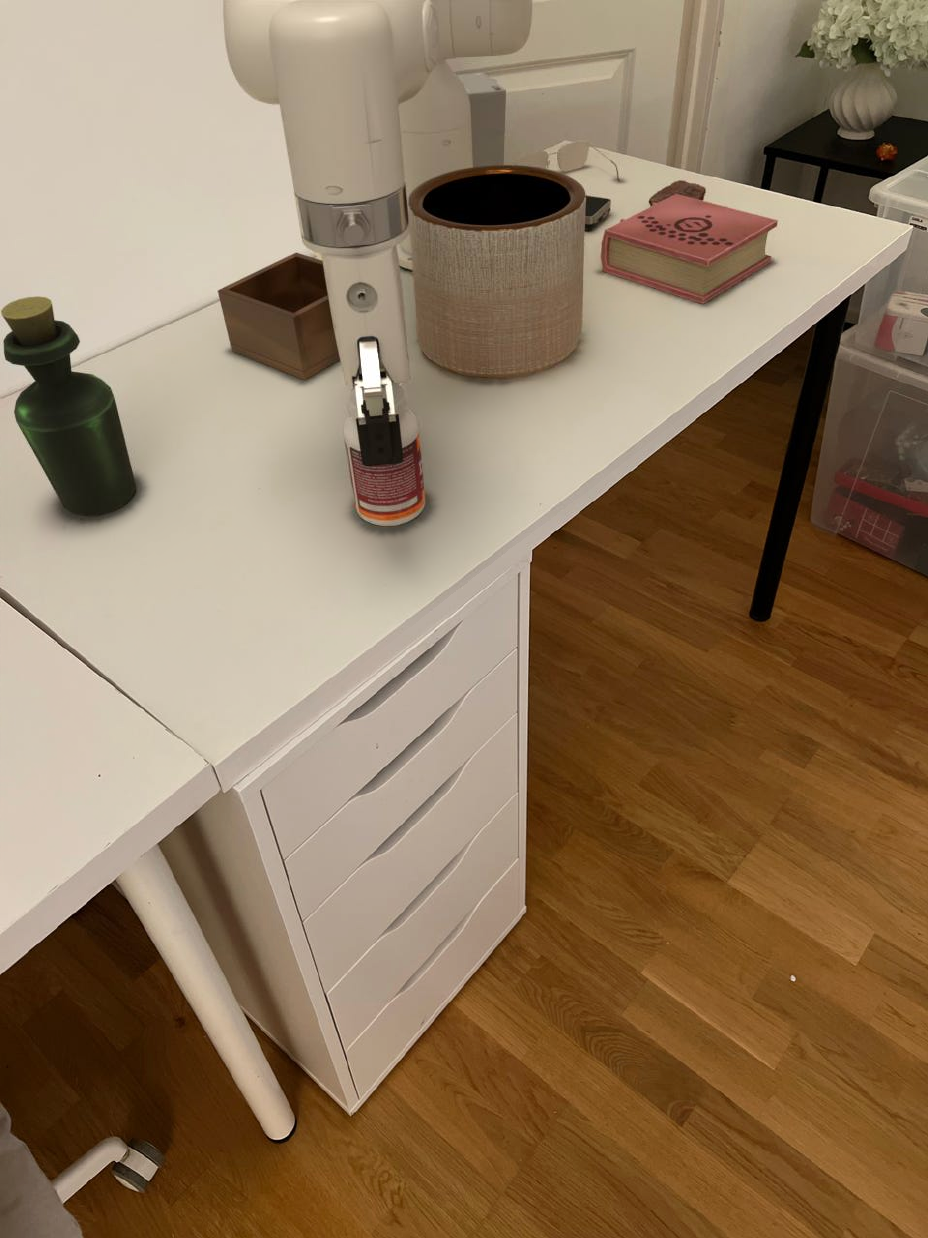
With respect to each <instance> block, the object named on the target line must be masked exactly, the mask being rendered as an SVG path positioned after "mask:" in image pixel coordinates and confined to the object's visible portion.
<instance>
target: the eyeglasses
mask: <svg viewBox="0 0 928 1238" xmlns="http://www.w3.org/2000/svg"><path fill="white" fill-rule="evenodd" d="M591 147H592V148H593V149H594V150H596V151H597V152H598V153H599V154H601V155H602V156H603V157H604V158H606V159H607V160H608V161H610V163H611V164H613V166H615V170H616V177H617V181H620V177H619V171H618V167H617V164H616V163H615V162H614V161H613V160H612V159H610V158H609V157H608V156H606V155H605V154H604V153H603V152H601V151H600V150H599V149H598V148H597V147H595V145H593V144H590V142H589V141H587V140H579V141H573V142H569V143H566V144H563V145H562V146H560V147H559V148H558V150H557V151H555V152H551V153H549V152H548V151H546V150H538V151H532V152H529V153H526V154H523V155H521V156H519V157H517V159H516V160H515V162H514V163H512V164H511V165H522V166H532V167H539V168H544V169H549V167H550V164H551V159H549V156H551V155H555V154H556V161H557V166H558V169H559V170H560V171H561V172H570V171H571V172H572V171H575V170H578V169H580V168H582V167H583V166H584V165H585V164H586V161H587V158H588V154H589V151H590V148H591Z"/></svg>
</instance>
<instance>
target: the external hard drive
mask: <svg viewBox="0 0 928 1238" xmlns="http://www.w3.org/2000/svg"><path fill="white" fill-rule="evenodd" d="M611 203H612V199H611V198H608V197H600V196H594V195H593V196H592V195H587V194H586V205H585V230H586V231H591V230H592V229H594V228H595V226H596V225H598V224H599V223H600V222H601V221H602V220H603V219H604V218H605V217H607V215H608V214H610V212H611Z"/></svg>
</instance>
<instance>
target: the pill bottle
mask: <svg viewBox="0 0 928 1238" xmlns="http://www.w3.org/2000/svg"><path fill="white" fill-rule="evenodd" d="M392 389H393V398H394V407H395V414H399V421H400V430H401V440H402V449H403V458H404V459H403V462H401V463H398V464H388V465H378V466H369V467H366V466H364V465H363V464H362V459H361V452H360V445H359V438H358V431H357V425H356V418H358V410H357V401H356V393H355V387H354V390H353V389H351V390H350V391H349V392H348V394H347V396H346V397H347V398H346V399H347V400H346V401H347V411H348V414H349V416H348V418H346V420H345V423H344V424H343V441H344V447H345V452H346V453H345V454H346V458H347V464H348V470H349V479H350V483H351V484H350V485H351V489H352V495H353V502H354V507H355V510H356V513H357V514H358V516H359V517H360V518H361V519H362V520H364V521H365V522H367V523H370V524H372V525H375V526H380V527H381V526H382V527H395V526H399V525H403V524H406V523H408V522H411V521H412V520H414V519H415V518H417V517H418V516H419V515H420V514H421V513H422V512H423V510H424V509H425V506H426V489H425V477H424V469H423V468H424V467H423V459H422V449H421V437H420V436H421V435H420V428H419V422H418V419H417V417H416V415H415V414H414V413H413V412H412V411H411V410H409V409H408V399H407V393H406V390H405V388H404V387H403V386H402V385H400V383H399V384H395V383H394V382H393V385H392ZM382 396H383V398H386V400H387V397H386V388H382ZM363 397H364V400H365V394H364V390H363Z"/></svg>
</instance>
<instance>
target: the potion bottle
mask: <svg viewBox="0 0 928 1238" xmlns="http://www.w3.org/2000/svg"><path fill="white" fill-rule="evenodd" d="M0 313H1V316H2V318H3V319H4V321H5V322H6V323H7V325H8V326H9V328H10V330H11V331H10V332H8V333H7V334H6V335H5V337H4V339H3V340H2V341H3V354H4V359H5V361H7V362H8V363H10V364H12V365H16V366H23V367H24V368H25V369H26V371H27V372H28V373H29V375H30V376H31V378H32V379H33V380H34V381H33V382H32V383H30V384H29V385H28V386H27V387H26V388H25V389H23V390H22V391H20V393H19V394H18V397H17V398H16V400H15V404H14V409H13V410H14V412H13V414H14V418H15V422H16V424H17V426H18V427H19V429H20V431H21V432H22V434H23V436H24V438H25V440H26V441H27V444H28V445H29V447H30V449H31V450H32V452H33V454H34V456H35V458H36V460H37V461H38V463H39V465H40V467H41V469H42V470H43V472H44V474H45V476H46V477H47V479H48V481H49V483H50V485H51V486H52V488H53V490H54V492H55V494H56V495H57V497H58V499H59V501H60V503H61V504H62V506H63V508H65V509H66V510H67V511H69V512H70V513H72V514H75V515H80V516H84V517H91V516H101V515H104V514H108V513H111V512H114V511H115V510H117V509H119V508H121V507H123V506H124V505H126V504H127V503H128V501H130V499H131V498H133V496H134V493H135V491H136V488H137V483H136V480H135V476H134V472H133V468H132V463H131V459H130V456H129V451H128V447H127V443H126V439H125V435H124V432H123V431H124V430H123V426H122V422H121V419H120V414H119V411H118V406H117V402H116V399H115V395H114V392H113V389H112V387H111V386H110V385H109V384H107V382H105V381H104V379H102V378H100V377H98V376H96V375H94V374H93V373H86V372H80V371H72V362H71V361H72V360H71V354H72V353H73V352H74V351H75V350H77V349H78V347H79V346H80V343H81V339H80V337H79V335H78V334H77V333H76V331H75V330H74V328H73V327H71V325H70V324H69V323H67V322H65V321H62V320H55V314H54V313H55V312H54V308H53V303H52V300H51V299H50V298H49V297H45V296H38V295H37V296H28V297H22V298H18V299H16V300H13V301H11V302H9V303H7V304H6V305H4V306H3V307H2V309H1V310H0Z"/></svg>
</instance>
